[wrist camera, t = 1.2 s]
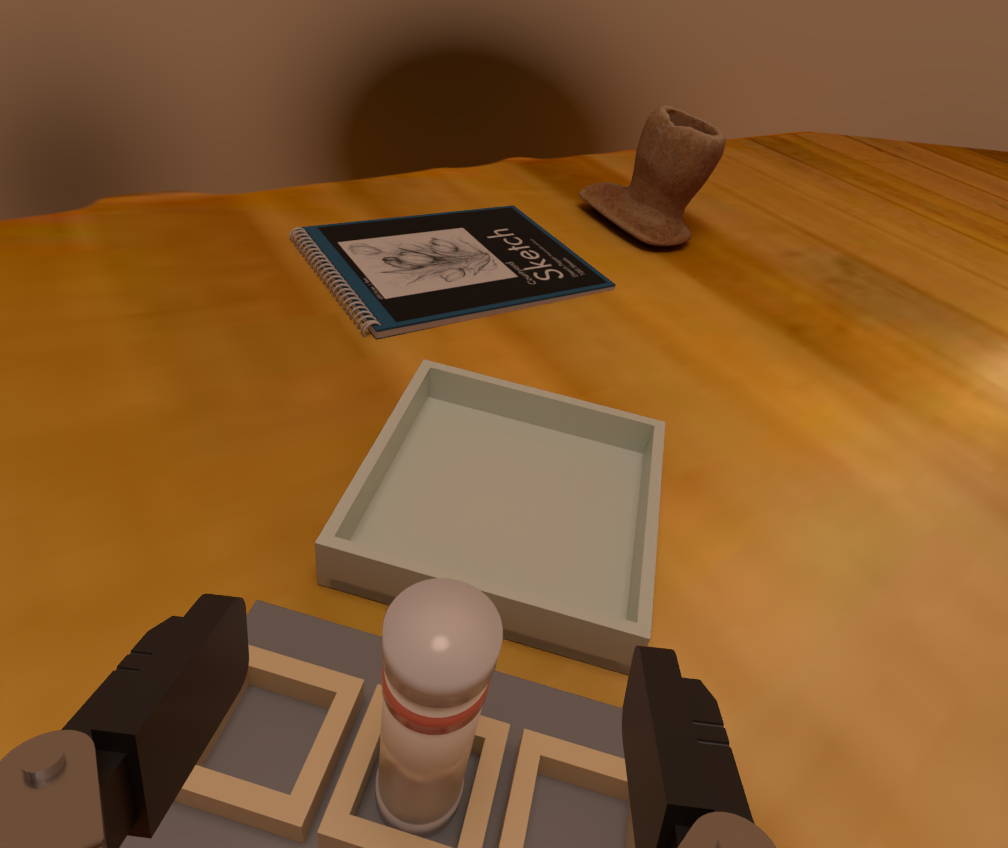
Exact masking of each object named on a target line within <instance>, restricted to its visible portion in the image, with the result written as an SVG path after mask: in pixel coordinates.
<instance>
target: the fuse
mask: <svg viewBox="0 0 1008 848" xmlns="http://www.w3.org/2000/svg"><path fill="white" fill-rule="evenodd" d="M502 639H503V627H502V622H501V618H500V615H499V613H498V611H497V609H496V607H495V605H494V604H493V603H492V601H491V600H490V599H489V598H488V597H487V596H486V595H485V594H484V593H483V592H482V591H480V590H479V589H477V588H476V587H474V586H472V585H470V584H468V583H465V582H462V581H459V580H455V579H448V578H435V579H429V580H424V581H421V582H418V583H416V584H414V585H411V586H410V587H408V588H407V589H405V590H404V591H402V592H401V593H400V594H399V595H398V596H397V597H396V598H395V599H394V600H393V602H392V603H391V605H390V606H389V608H388V610H387V612H386V615H385V618H384V623H383V637H382V664H383V668H382V694H383V696H382V716H381V735H380V755H379V767H378V770H377V775H376V791H375V800H376V806H377V810H378V813H379V815H380V817H381V819H382V821H383V822H384V824H385V825H386V826H387V827H391V828H394V829H397V830H400V831H403V832H406V833H409V834H412V835H415V836H418V837H422V838H428V837H431V836H433V835H435V834H437V833H439V832H440V831H442V830H443V829H444V828H445V827H446V826H447V825H448V824H449V823H450V822H451V820H452V819H453V817H454V816H455V814H456V812H457V809H458V806H459V803H460V799H461V795H462V792H463V787H464V775H465V771H466V767H467V764H468V760H469V756H470V752H471V748H472V744H473V740H474V737H475V733H476V729H477V725H478V721H479V717H480V713H481V710H482V706H483V704H484V702H485V699H486V696H487V692H488V688H489V684H490V680H491V678H492V676H493V673H494V670H495V667H496V663H497V660H498V656H499V652H500V648H501V644H502Z"/></svg>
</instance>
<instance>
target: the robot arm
mask: <svg viewBox="0 0 1008 848" xmlns="http://www.w3.org/2000/svg"><path fill="white" fill-rule="evenodd" d="M248 666H249V647H248V633H247V618H246V606H245V602H244V600H243V599H242V598H240V597H231V596H223V595H214V594H203V595H202V596H201V597H200V598H199V599H198V600H197V601H196V602H195V604H194V605H193V606H192V607H191V608H190V610H189V611H188V612H187V613H186V614H185V616H184V617H178V616H172V617H170V618H168V619H167V620H165V621H164V622H162V623H160V624H159V625H157V626H156V627H154V628H152V629H151V630H149V631H148V632H147V633H146V634H145V635H144V636H143V638H142V639H141V640H140V641H139V642H138V643H137V644H136V645H135V647H134V648H133V649H132V650H131V653H130V655H127V656H126V657H125V658H124V659H123V660H122V661H121V663H120V664H119V665H118V666H117V669H116V671H113V672H112V673H111V674H110V675H109V676H108V677H107V678H106V680H105V681H104V682H103V683H102V684H101V685H100V686H99V688H98V689H97V690H96V691H95V692H94V693H93V694H92V696H91V697H90V698H89V699H88V700H87V701H86V702H85V704H84V705H83V706H82V707H81V708H80V709H79V710H78V711H77V713H76V714H75V715H74V716H73V717H72V718H71V719H70V721H69V722H68V723H67V724H66V725H65V726H64V727H63V729H62V730H58V731H52V732H48V733H45V734H42V735H39V736H36V737H34V738H32V739H30V740H27V741H25V742H24V743H22V744H20V745H19V746H17V747H16V748H14V749H13V750H12V751H10V752H9V753H8V754H7V755H6V756H5V757H4V758H3V759H2V760H1V761H0V848H120V846H121V844H122V843H123V841H124V840H125V838H126V837H127V835H128V836H136V837H143V838H152V837H153V835H154V833H155V832H156V830H157V828H158V827H159V825H160V823H161V822H162V820H163V818H164V817H165V815H166V813H167V812H168V810H169V808H170V807H171V805H172V803H173V802H174V800H175V798H176V797H177V795H178V793H179V792H180V790H181V788H182V787H183V785H184V783H185V782H186V780H187V779H188V777H189V775H190V774H191V772H192V770H193V769H194V767H195V765H196V764H197V762H198V760H199V759H200V757H201V755H202V754H203V752H204V750H205V749H206V747H207V745H208V744H209V742H210V740H211V739H212V737H213V735H214V734H215V732H216V730H217V729H218V727H219V725H220V724H221V722H222V720H223V719H224V717H225V715H226V714H227V712H228V710H229V709H230V707H231V705H232V704H233V702H234V700H235V699H236V697H237V695H238V694H239V692H240V690H241V688H242V686H243V684H244V682H245V679H246V675H247V671H248ZM723 725H724V723H723V720H722V717H721V714H720V710H719V707H718V704H717V701H716V699H715V698H714V697H713V696H712V694H711V693H710V692H709V691H708V689H707V688H706V687H705V686H704V684H703V683H702V682H701V680H698V679H689V678H682V677H681V673H680V669H679V665H678V661H677V657H676V653H675V651H674V650H672V649H664V648H655V647H647V646H638V645H637V646H636V647H635V649H634V653H633V657H632V662H631V667H630V673H629V678H628V683H627V688H626V693H625V698H624V703H623V711H622V740H623V749H624V757H625V765H626V774H627V782H628V791H629V799H630V807H631V816H632V824H633V832H634V841H635V848H776V846H775V845H774V843H773V842H772V841H771V839H770V838H769V837H768V836H767V835H766V834H765V833H764V832H763V831H762V830H761V829H760V828H759V827H757V826H756V825H755V824H754V821H753V818H752V815H751V812H750V809H749V805H748V802H747V799H746V795H745V792H744V789H743V786H742V782H741V779H740V776H739V773H738V769H737V766H736V763H735V759H734V756H733V753H732V750H731V748H730V747H729V740H728V736H727V733H726V730H725V728H724V727H723Z"/></svg>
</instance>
